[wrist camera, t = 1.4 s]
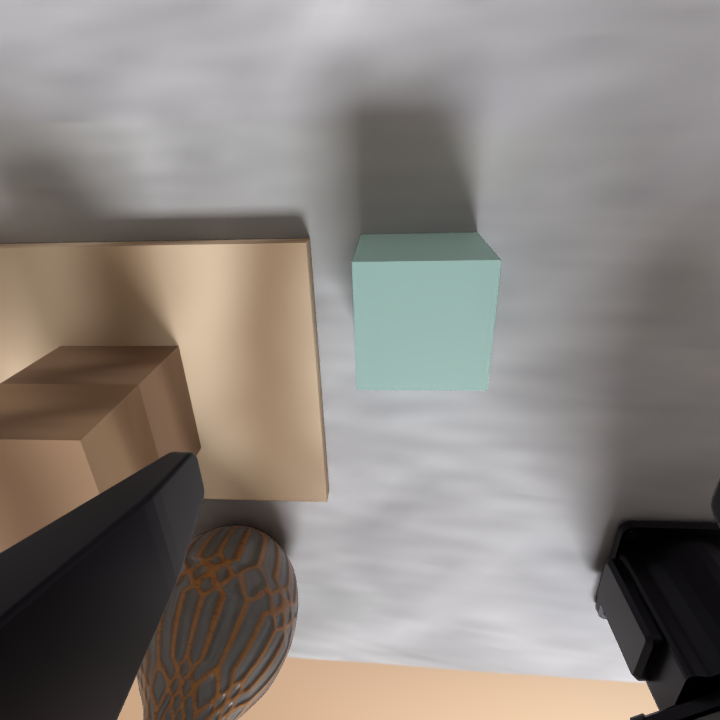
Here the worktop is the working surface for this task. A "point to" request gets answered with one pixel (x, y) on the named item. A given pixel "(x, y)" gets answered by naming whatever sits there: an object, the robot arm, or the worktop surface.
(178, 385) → the tower base
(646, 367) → the worktop surface
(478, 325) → the cube
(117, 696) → the robot arm
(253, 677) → the vase
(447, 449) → the worktop surface
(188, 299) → the beech board
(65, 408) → the tower top
